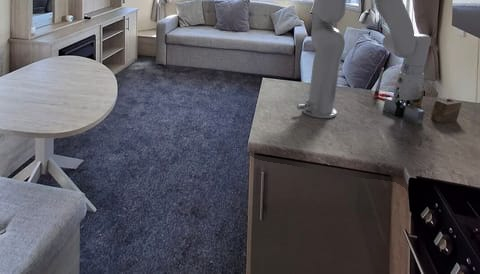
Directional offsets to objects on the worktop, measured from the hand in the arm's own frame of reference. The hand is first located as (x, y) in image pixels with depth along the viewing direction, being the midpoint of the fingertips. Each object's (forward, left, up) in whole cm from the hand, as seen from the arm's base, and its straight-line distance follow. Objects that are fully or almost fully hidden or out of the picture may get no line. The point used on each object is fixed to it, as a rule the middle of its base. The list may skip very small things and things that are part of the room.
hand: (401, 115), depth 150 cm
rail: (0, 0, 0) cm, 0 cm away
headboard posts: (+13, 0, 0) cm, 13 cm away
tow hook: (+11, +20, -1) cm, 23 cm away
